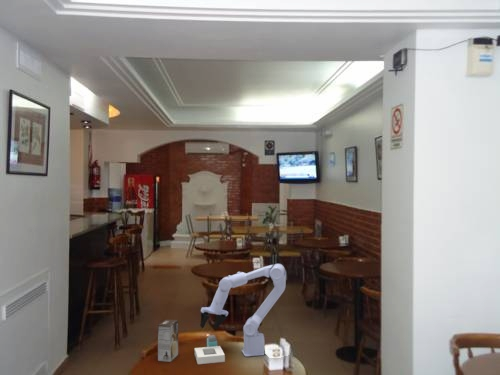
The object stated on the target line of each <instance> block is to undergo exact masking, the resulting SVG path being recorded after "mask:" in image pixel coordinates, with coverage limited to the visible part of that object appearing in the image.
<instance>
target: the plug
mask: <svg viewBox="0 0 500 375" xmlns="http://www.w3.org/2000/svg"><path fill="white" fill-rule="evenodd" d="M212 346H218V340H217V337H216V335H215V334H212V335H211V334H209V335H207V338H206V347H212Z"/></svg>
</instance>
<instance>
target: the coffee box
mask: <svg viewBox="0 0 500 375" xmlns="http://www.w3.org/2000/svg"><path fill="white" fill-rule="evenodd" d="M178 355H179V320H178V319H164V320H163V321H162V322H160V323H159V324H158V325H157V361H158V362H170V363H171V362H172V361H173V360H174V359H175V358H176V357H177V356H178Z"/></svg>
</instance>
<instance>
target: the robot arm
mask: <svg viewBox="0 0 500 375" xmlns="http://www.w3.org/2000/svg"><path fill="white" fill-rule="evenodd" d="M261 277H266V278H271V280H272V281H273V282H272V283H273V286H274V287H273V288H272V289H271V291H270V293H269V294H268V295H267V296H266V297H265V299H264V301H263V302H262V303H261V304H260V306H259V307H258V308H257V310H256V311H255V312H254V314H253V315H252V316H250V317H249V318H248V319H247V320H246V321H245V324H244V325H243V328H242V330H243V349H241V350H240V351H241V352H242V354H243V356H244V357H245V358H246V357H256V356H257V357H258V356H265V355H264V346H265V345H266V344H265V334H264V333H262V332H260V331H259V330H258V328H260V324H261V323H262V321H263V320H264V319H265V317H266V316H267V314H268V313H269V312H270V310H272V307H274V305H275V304H276V302H277V301H278V300H279V298H280V297H281V296H282V295H283V293H284V292H285V290H286V282H287V270H286V269H285V267H284V265H283V264H281V263H275V264H270V265H265V266H263V267H260V268H258V269H256V270H255V269H254V270H252V271H249V272H247V273H246V272H243V271H237V272H236V273H235V274H232V275H230V274H229V275H228V276H224V277H223V278H222V279H220V281H219V282H218V288H217V289H216V292H215V294H214V296H213V299H212V302H211V304H210V305H209V306H208V307H207V306H205V307H204V306H203V307H201V309H200V328H202V329H203V328H205V326H206V323H207V322H208V320H209V318H210V315H209V314H213V315H216V317H215V321H214V323H213V328H214V329H215V330H218V328H219V326H220V325H221V324H222V323H224V321H226V320H227V317H228V315H229V311H227V310H225V309H224V306H225V304H226V301H227V299H228V296H229V292H230V290H231V288H232V289H234V288H238V287H240V286H243V285H247V283H248V281H250V280H253V279H257V278H261Z"/></svg>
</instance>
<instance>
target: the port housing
mask: <svg viewBox="0 0 500 375" xmlns="http://www.w3.org/2000/svg"><path fill="white" fill-rule="evenodd" d="M193 352H194V358H195V360H196V363H197V365H204V364H205V365H206V364H217V363H226V356H225V355H226V354H225V353H224V350H223V349H222V347H221V345H217V346H212V347H207V346H204V347H194V351H193Z"/></svg>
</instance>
